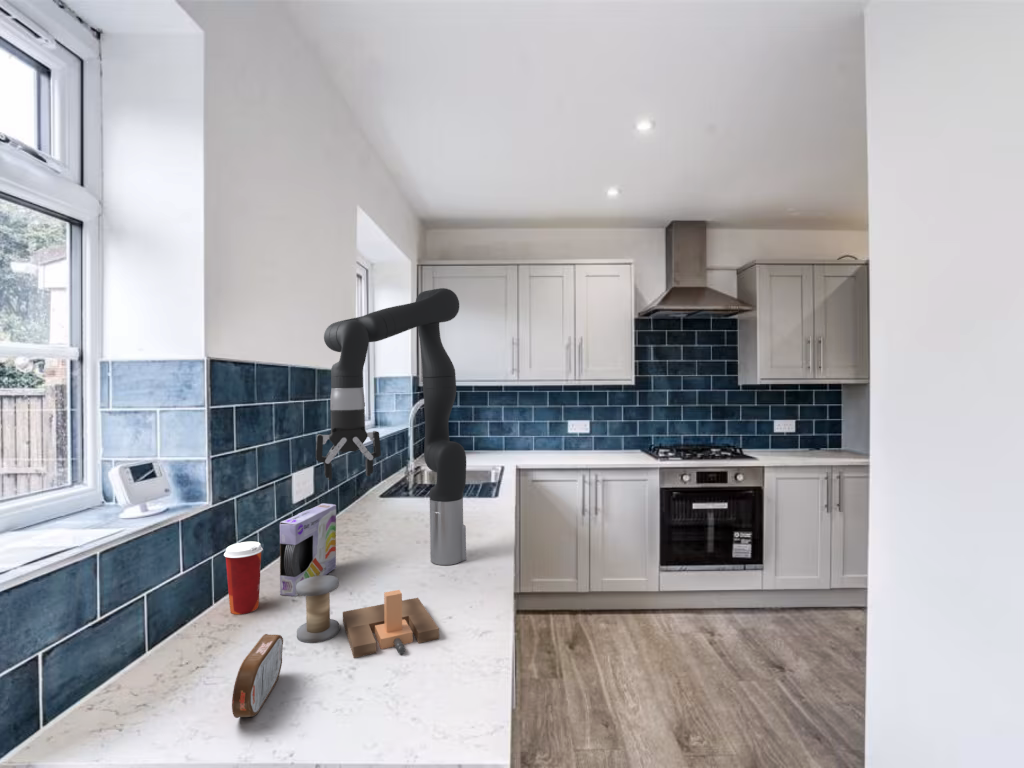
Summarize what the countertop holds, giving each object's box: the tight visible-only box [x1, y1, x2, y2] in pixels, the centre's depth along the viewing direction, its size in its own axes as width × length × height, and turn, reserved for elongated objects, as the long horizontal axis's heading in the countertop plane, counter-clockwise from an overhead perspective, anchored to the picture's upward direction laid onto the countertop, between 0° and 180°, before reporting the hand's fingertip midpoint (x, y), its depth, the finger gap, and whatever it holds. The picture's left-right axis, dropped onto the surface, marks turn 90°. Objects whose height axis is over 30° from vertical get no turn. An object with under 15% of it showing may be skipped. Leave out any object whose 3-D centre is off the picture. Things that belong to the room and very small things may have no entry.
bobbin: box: [296, 574, 341, 644], centre depth 104 cm, size 8×8×10 cm
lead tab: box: [374, 589, 414, 655], centre depth 99 cm, size 6×10×9 cm, turn 26°
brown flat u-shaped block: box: [342, 597, 440, 659], centre depth 105 cm, size 16×16×2 cm
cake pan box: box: [279, 503, 337, 597], centre depth 130 cm, size 19×5×18 cm, turn 168°
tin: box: [231, 633, 284, 719], centre depth 82 cm, size 15×3×8 cm, turn 6°
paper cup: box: [223, 541, 264, 616], centre depth 115 cm, size 8×8×14 cm
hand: (349, 477), depth 120 cm, fingers open, 8 cm apart
